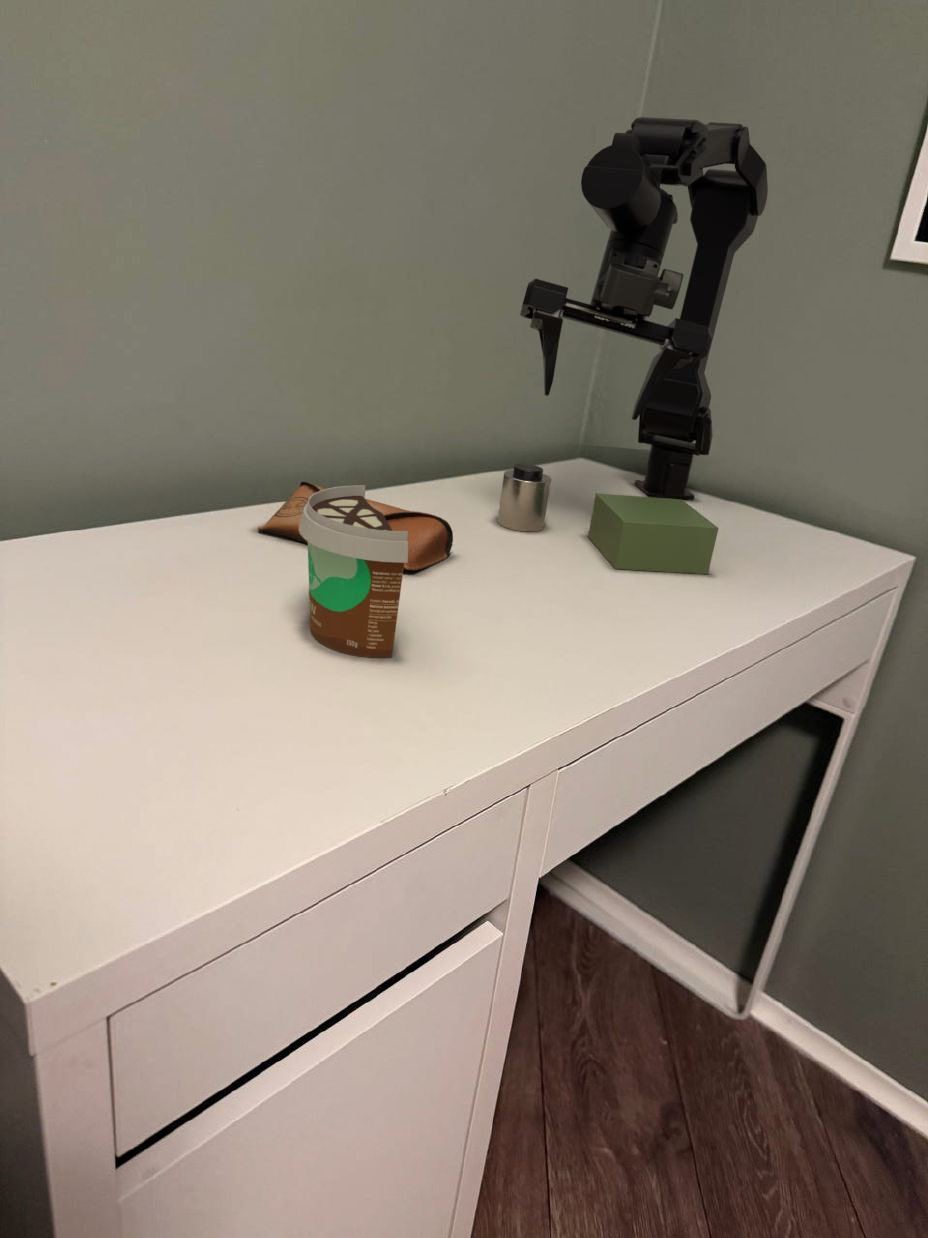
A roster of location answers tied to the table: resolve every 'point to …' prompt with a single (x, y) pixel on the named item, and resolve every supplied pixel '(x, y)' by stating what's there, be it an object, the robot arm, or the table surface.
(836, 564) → the table surface
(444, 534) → the sunglasses case
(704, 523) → the green block
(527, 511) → the flask
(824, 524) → the table surface
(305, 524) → the food container
